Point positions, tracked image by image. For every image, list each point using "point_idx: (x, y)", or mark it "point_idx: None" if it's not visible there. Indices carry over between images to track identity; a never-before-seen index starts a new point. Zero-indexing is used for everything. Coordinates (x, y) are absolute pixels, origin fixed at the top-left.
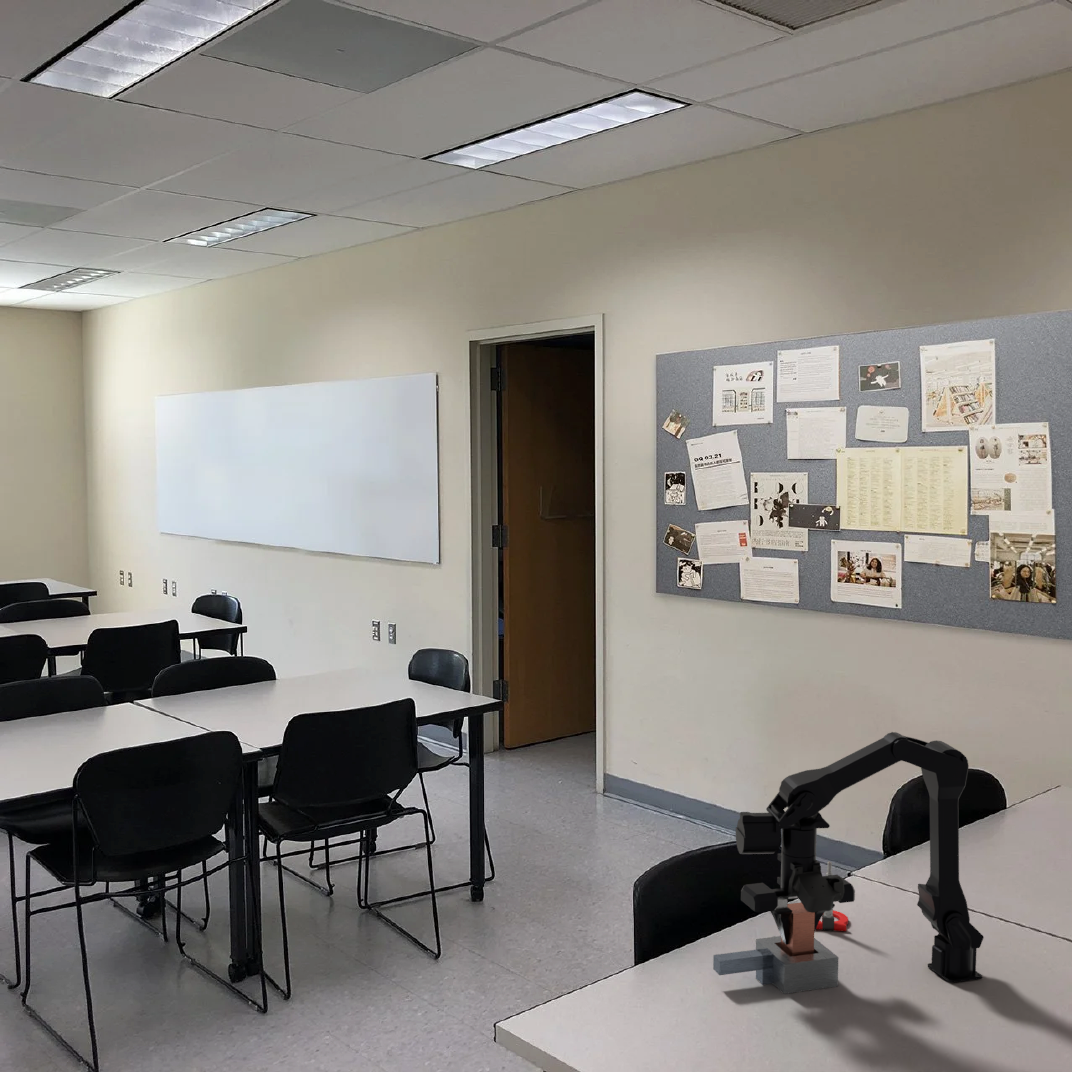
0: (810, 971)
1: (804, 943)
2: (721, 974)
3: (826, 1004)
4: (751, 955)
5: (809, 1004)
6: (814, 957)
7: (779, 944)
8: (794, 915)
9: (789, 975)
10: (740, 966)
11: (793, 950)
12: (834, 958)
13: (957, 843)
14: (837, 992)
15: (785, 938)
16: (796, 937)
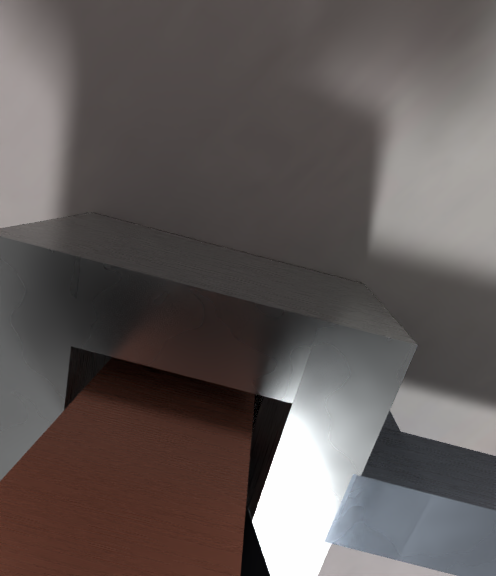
0: (220, 270)
1: (142, 441)
2: None
3: (265, 98)
4: (492, 528)
5: (339, 143)
6: (148, 313)
7: None
8: None
9: (354, 305)
10: None
11: (243, 433)
12: (19, 238)
13: None
14: (130, 168)
15: (262, 552)
16: (205, 512)
